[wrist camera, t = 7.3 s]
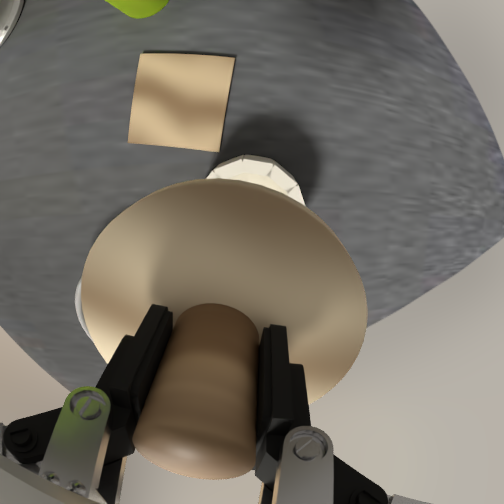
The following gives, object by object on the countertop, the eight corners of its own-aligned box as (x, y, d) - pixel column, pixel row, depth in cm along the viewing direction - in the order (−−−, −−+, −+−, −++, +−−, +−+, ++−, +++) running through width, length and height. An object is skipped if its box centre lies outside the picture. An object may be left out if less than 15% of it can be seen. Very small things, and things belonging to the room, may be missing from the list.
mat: (142, 54, 25) (140, 53, 25) (235, 58, 25) (234, 58, 25) (129, 142, 29) (127, 142, 29) (219, 151, 29) (218, 152, 29)
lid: (89, 163, 9) (-44, 216, 4) (396, 211, 10) (505, 306, 4) (110, 379, 14) (67, 469, 8) (314, 413, 14) (325, 514, 9)
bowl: (208, 148, 29) (199, 152, 25) (308, 165, 30) (316, 172, 26) (196, 241, 34) (188, 258, 29) (288, 256, 34) (292, 275, 30)
